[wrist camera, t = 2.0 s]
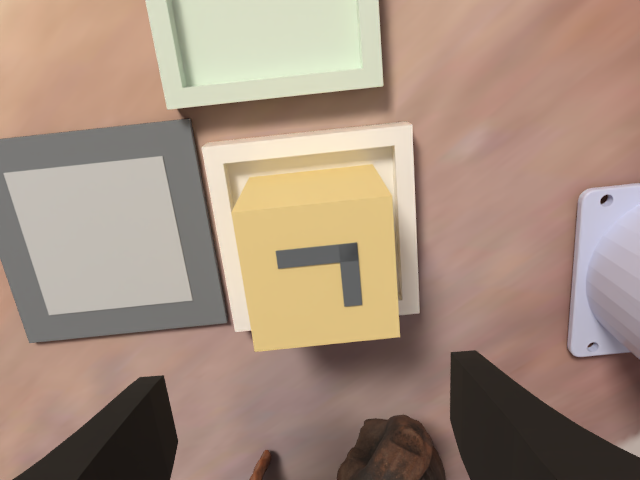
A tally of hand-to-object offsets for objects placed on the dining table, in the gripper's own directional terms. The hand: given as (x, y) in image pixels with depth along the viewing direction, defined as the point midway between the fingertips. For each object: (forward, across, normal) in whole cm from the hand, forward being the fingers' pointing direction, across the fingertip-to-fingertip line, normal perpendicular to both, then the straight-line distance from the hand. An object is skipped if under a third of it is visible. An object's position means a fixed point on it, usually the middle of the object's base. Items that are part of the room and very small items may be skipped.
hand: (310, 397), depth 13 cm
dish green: (+10, +1, -11) cm, 15 cm away
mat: (+10, +9, -2) cm, 13 cm away
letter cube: (+10, 0, -1) cm, 10 cm away
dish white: (+10, 0, -1) cm, 10 cm away
